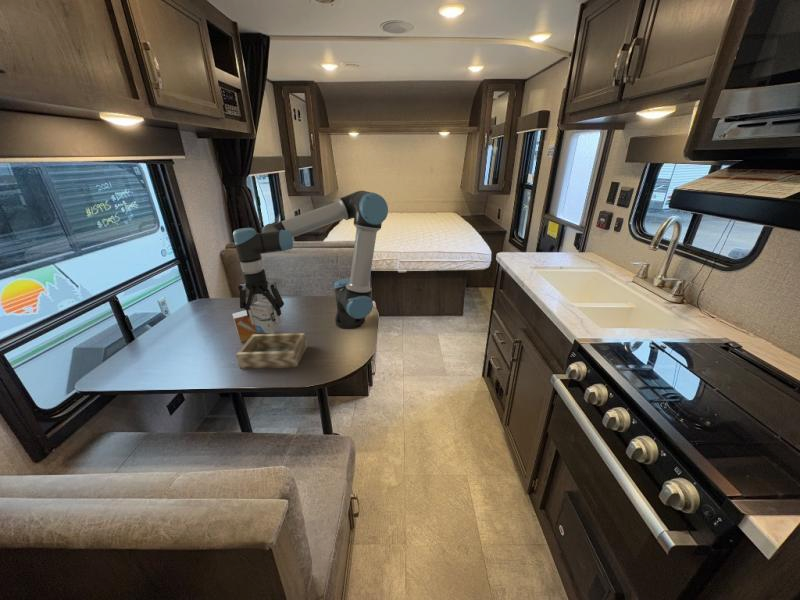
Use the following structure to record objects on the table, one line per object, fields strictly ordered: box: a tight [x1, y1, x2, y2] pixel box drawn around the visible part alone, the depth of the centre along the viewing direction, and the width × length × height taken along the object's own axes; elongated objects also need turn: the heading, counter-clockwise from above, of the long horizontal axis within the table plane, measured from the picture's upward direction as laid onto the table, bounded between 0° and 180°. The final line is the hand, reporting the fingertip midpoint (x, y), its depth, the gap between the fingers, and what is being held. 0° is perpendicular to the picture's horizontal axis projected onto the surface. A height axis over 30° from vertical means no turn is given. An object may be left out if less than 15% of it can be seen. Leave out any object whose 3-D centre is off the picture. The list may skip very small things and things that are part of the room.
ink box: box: [250, 294, 281, 334], centre depth 122 cm, size 9×5×15 cm, turn 71°
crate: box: [235, 332, 308, 370], centre depth 130 cm, size 23×15×7 cm, turn 90°
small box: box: [232, 309, 259, 344], centre depth 144 cm, size 8×6×13 cm
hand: (266, 322), depth 124 cm, fingers closed on ink box, 9 cm apart
